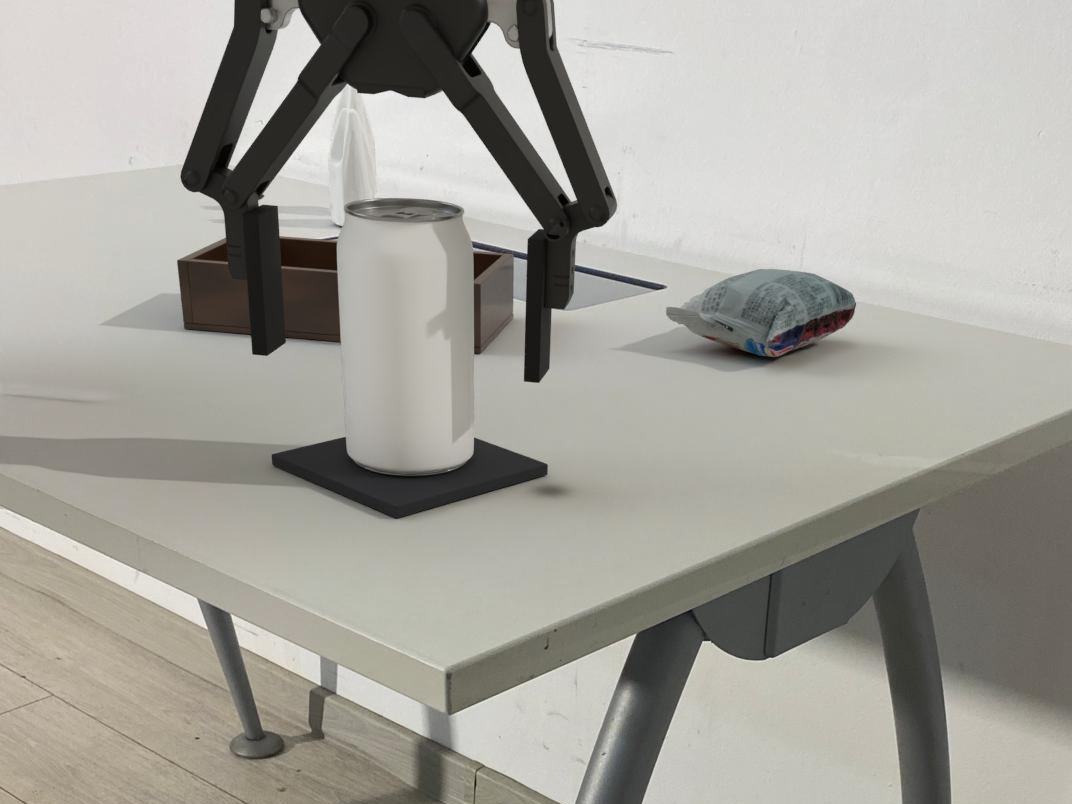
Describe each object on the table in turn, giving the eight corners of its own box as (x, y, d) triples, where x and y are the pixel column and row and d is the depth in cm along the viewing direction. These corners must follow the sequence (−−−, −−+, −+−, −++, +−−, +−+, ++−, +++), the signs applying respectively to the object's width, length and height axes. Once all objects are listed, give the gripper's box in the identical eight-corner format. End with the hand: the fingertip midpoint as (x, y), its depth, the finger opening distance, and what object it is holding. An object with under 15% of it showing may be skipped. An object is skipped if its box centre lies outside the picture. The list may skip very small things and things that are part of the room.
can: (496, 452, 74) (497, 206, 68) (434, 487, 69) (429, 225, 63) (389, 431, 77) (381, 191, 70) (321, 465, 72) (306, 209, 65)
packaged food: (663, 349, 96) (668, 273, 94) (752, 320, 105) (760, 250, 102) (774, 375, 92) (784, 296, 90) (858, 343, 101) (869, 270, 98)
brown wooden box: (183, 328, 96) (176, 260, 94) (240, 296, 105) (235, 232, 102) (480, 353, 94) (480, 284, 91) (513, 318, 102) (514, 253, 100)
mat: (396, 519, 67) (395, 506, 67) (271, 465, 73) (270, 453, 73) (548, 475, 74) (548, 463, 73) (422, 428, 79) (422, 418, 79)
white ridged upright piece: (335, 206, 138) (328, 79, 133) (379, 207, 139) (374, 81, 133) (329, 229, 128) (322, 92, 122) (376, 230, 129) (371, 94, 123)
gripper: (699, -132, 61) (660, 366, 72) (145, -166, 64) (190, 320, 75) (680, -140, 55) (641, 408, 66) (66, -177, 58) (128, 356, 69)
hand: (401, 362), depth 71 cm, fingers open, 13 cm apart
